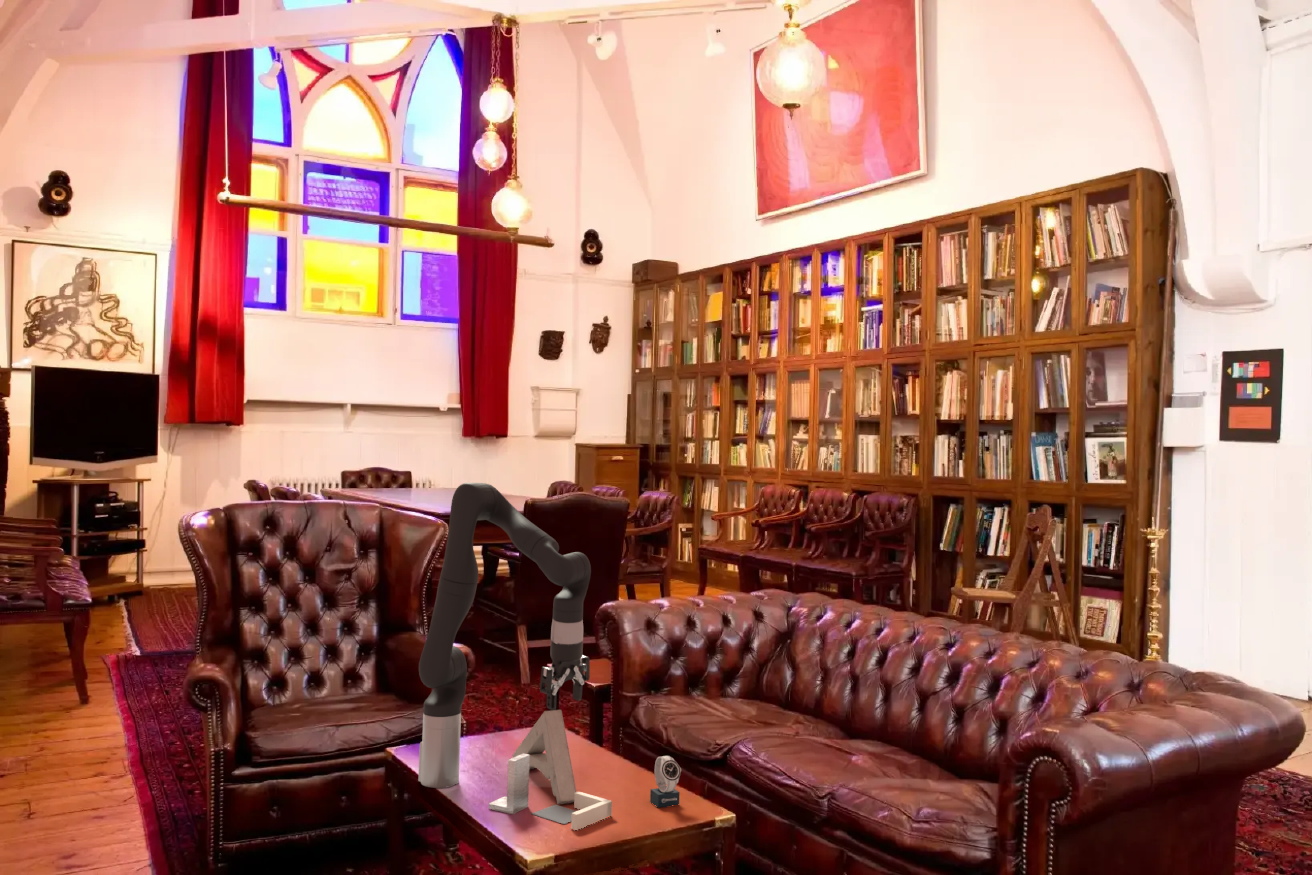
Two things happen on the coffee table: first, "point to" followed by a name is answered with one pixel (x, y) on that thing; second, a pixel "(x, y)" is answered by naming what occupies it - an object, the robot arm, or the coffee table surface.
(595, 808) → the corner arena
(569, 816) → the mat
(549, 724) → the letter a
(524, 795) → the angle bracket
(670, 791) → the watch
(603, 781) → the coffee table surface
